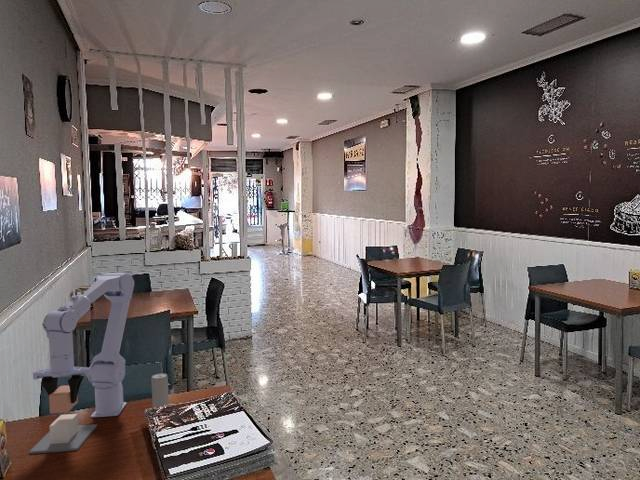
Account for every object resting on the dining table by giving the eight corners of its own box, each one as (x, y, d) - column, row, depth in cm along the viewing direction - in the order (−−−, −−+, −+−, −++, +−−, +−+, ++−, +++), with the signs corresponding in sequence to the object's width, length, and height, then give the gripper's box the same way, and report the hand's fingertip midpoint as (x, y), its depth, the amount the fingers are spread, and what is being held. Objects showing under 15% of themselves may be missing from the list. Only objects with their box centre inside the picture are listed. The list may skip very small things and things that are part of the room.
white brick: (62, 431, 132) (61, 414, 131) (78, 430, 132) (77, 413, 132) (50, 444, 125) (49, 426, 124) (68, 442, 125) (67, 424, 125)
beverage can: (163, 417, 141) (162, 379, 140) (149, 416, 142) (148, 378, 141) (172, 410, 146) (170, 373, 145) (158, 409, 147) (156, 372, 146)
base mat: (53, 429, 135) (53, 427, 135) (96, 426, 136) (96, 424, 136) (29, 453, 121) (29, 451, 121) (77, 450, 122) (77, 448, 122)
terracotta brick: (61, 403, 131) (60, 385, 131) (78, 402, 132) (77, 384, 132) (50, 413, 124) (49, 395, 124) (67, 412, 125) (66, 394, 125)
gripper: (26, 360, 123) (29, 410, 123) (83, 357, 124) (86, 406, 125) (39, 352, 130) (41, 399, 130) (93, 349, 131) (95, 396, 132)
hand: (64, 402), depth 128 cm, fingers closed on terracotta brick, 4 cm apart
